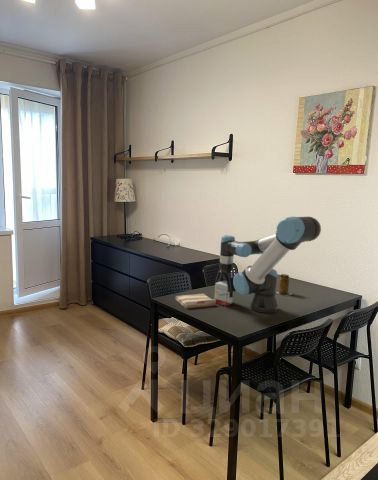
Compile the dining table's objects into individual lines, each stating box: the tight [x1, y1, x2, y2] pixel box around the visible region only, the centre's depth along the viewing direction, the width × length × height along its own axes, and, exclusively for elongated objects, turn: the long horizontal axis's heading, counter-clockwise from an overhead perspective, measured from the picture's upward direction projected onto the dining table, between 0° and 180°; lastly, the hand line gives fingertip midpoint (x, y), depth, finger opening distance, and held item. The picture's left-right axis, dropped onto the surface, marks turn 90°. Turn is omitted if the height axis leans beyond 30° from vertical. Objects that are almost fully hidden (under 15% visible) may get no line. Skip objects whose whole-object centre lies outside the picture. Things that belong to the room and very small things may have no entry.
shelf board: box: [174, 293, 217, 309], centre depth 211 cm, size 16×18×3 cm
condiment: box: [275, 273, 293, 297], centre depth 236 cm, size 7×8×12 cm
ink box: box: [213, 280, 235, 307], centre depth 213 cm, size 9×9×12 cm
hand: (223, 298), depth 213 cm, fingers open, 13 cm apart
